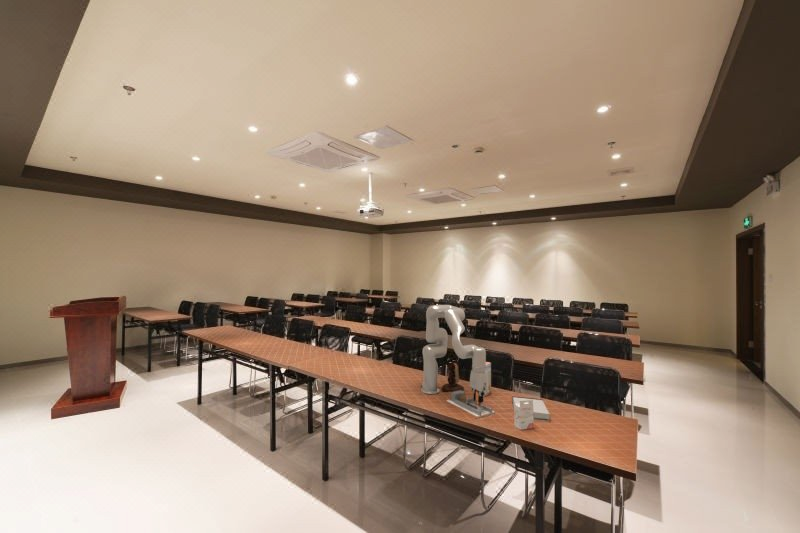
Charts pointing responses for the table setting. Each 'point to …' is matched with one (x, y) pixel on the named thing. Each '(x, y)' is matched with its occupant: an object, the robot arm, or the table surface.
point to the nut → (463, 399)
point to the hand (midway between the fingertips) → (478, 401)
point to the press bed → (456, 401)
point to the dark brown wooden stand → (453, 378)
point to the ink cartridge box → (523, 415)
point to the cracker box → (488, 378)
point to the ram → (475, 402)
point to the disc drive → (535, 408)
